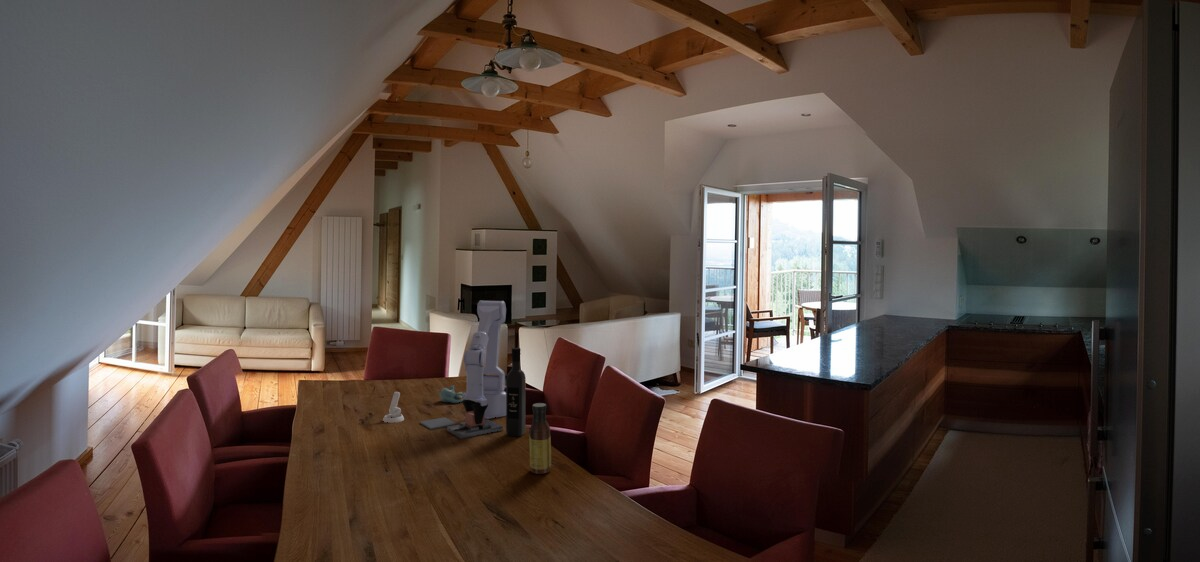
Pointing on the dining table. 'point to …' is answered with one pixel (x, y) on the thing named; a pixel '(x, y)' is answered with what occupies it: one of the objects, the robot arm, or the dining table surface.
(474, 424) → the collar block
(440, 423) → the mat
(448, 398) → the stuffed animal
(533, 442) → the sauce bottle
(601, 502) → the dining table surface
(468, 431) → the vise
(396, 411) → the hook
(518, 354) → the wine bottle
